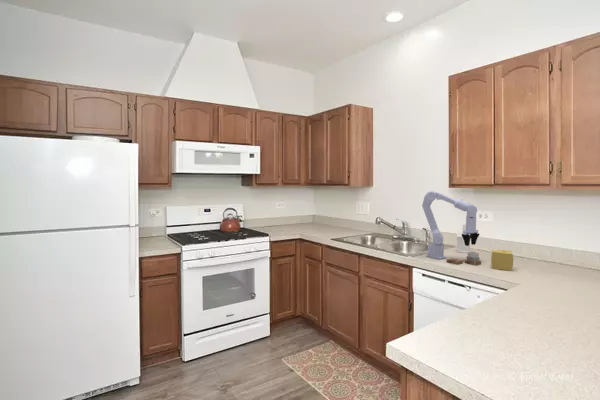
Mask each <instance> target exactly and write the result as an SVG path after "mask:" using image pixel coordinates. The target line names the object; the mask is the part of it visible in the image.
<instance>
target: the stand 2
mask: <svg viewBox="0 0 600 400" xmlns="http://www.w3.org/2000/svg"><path fill="white" fill-rule="evenodd" d="M464 264H466V265H471V266H479V265H482V260H480V261H478V262H475V261H470V260H467V258H466V259H464Z"/></svg>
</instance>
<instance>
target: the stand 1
mask: <svg viewBox="0 0 600 400" xmlns="http://www.w3.org/2000/svg"><path fill="white" fill-rule="evenodd" d="M445 263H448V264H452V265H456V266H458V265H463V263H464V260H463V259H459V258H454V257H451V258H446V261H445Z"/></svg>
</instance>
